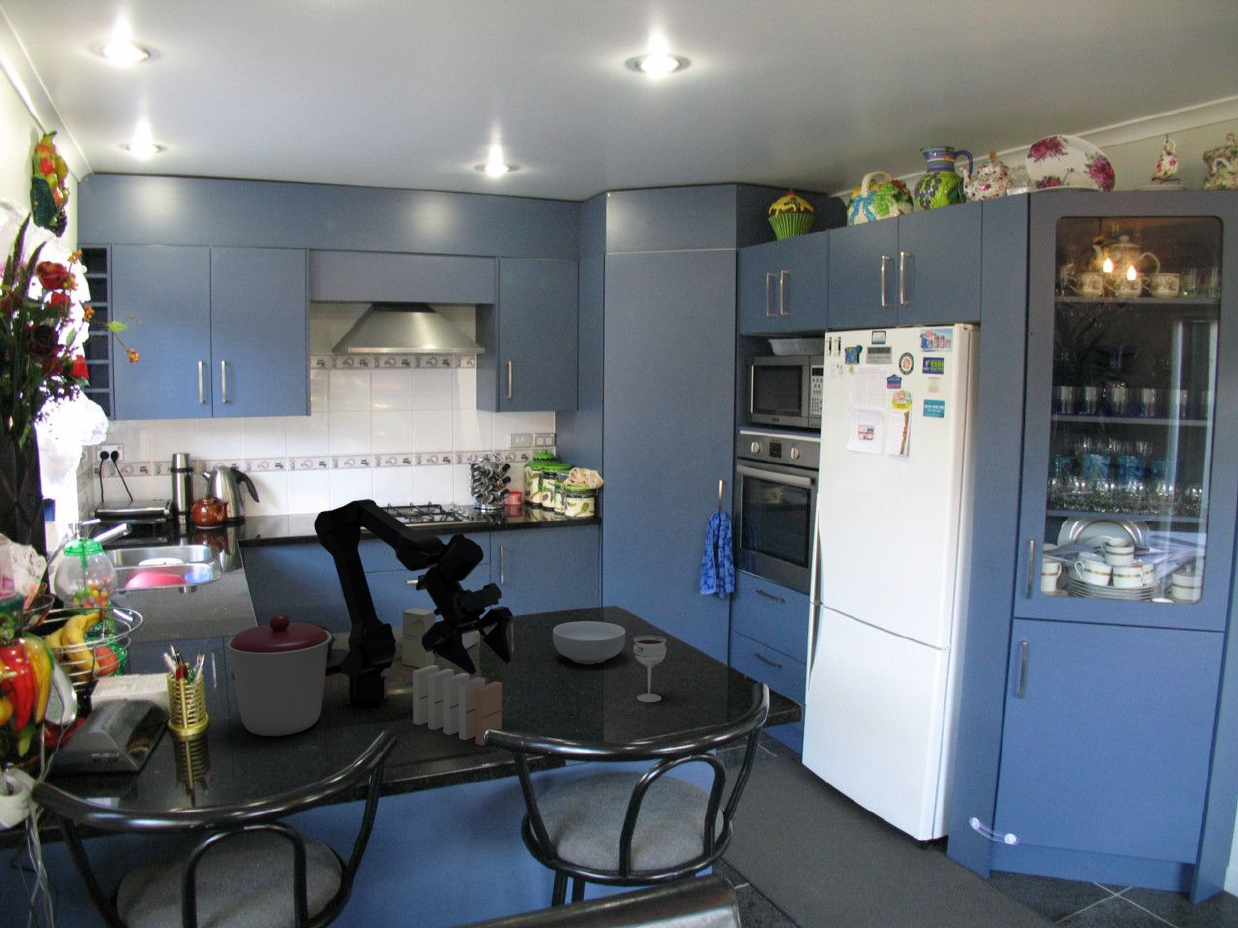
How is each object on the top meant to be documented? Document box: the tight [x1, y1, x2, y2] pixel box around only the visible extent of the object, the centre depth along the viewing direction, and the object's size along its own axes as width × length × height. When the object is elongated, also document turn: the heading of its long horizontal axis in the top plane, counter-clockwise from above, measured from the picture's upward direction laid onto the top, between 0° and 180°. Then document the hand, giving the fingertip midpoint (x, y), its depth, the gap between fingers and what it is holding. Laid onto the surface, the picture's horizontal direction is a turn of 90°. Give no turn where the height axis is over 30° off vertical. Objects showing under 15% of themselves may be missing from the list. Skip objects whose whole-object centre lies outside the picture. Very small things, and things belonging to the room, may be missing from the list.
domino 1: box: [412, 664, 440, 726], centre depth 179 cm, size 2×5×10 cm, turn 144°
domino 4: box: [458, 676, 486, 741], centre depth 172 cm, size 2×5×10 cm, turn 144°
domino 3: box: [442, 672, 470, 736], centre depth 174 cm, size 2×5×10 cm, turn 144°
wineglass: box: [632, 634, 668, 703], centre depth 193 cm, size 7×7×12 cm
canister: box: [225, 613, 333, 737], centre depth 174 cm, size 18×18×21 cm
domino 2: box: [427, 668, 455, 731], centre depth 176 cm, size 2×5×10 cm, turn 144°
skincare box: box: [401, 607, 436, 669], centre depth 213 cm, size 6×4×12 cm
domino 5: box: [474, 680, 503, 746], centre depth 169 cm, size 2×5×10 cm, turn 144°
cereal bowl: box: [552, 620, 626, 665], centre depth 219 cm, size 17×17×7 cm
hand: (492, 667), depth 168 cm, fingers open, 9 cm apart
